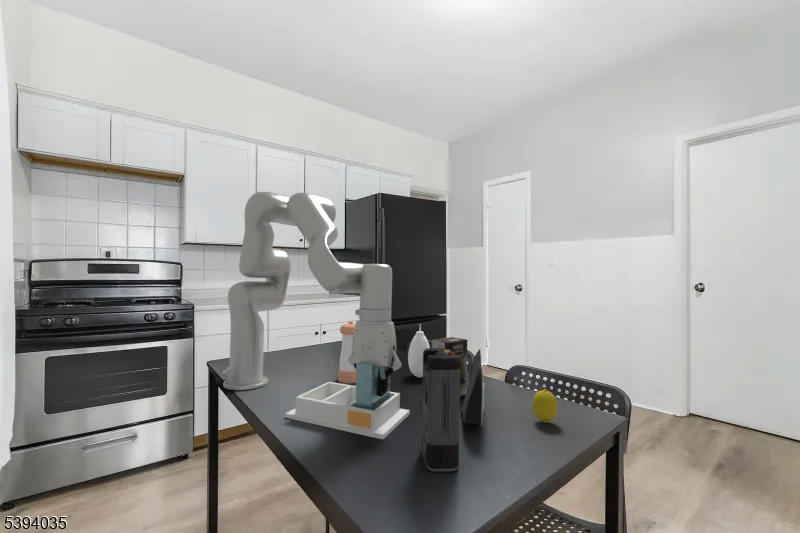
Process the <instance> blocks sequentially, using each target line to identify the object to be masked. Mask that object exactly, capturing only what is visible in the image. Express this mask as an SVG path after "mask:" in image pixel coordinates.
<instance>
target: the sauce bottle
mask: <svg viewBox="0 0 800 533" xmlns="http://www.w3.org/2000/svg"><path fill="white" fill-rule="evenodd" d="M421 325H422V324H421V323H420V324H419V329H418V330H419V331H416V332H415V335H414V336H413V338H412V340H411V342H410V345H409V347H408V348H409V349H408V354H407V360H408V361H407V363H408V367H409V370H410V372H411V374H413V376H414V377H417V378H418V379H419V378H423V351H424V350H425V349H428V348H431V347H430V344H429V341H428V339H427V337H426V335H425V333H424V331H423V330H422V326H421ZM421 330H422V331H421Z"/></svg>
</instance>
